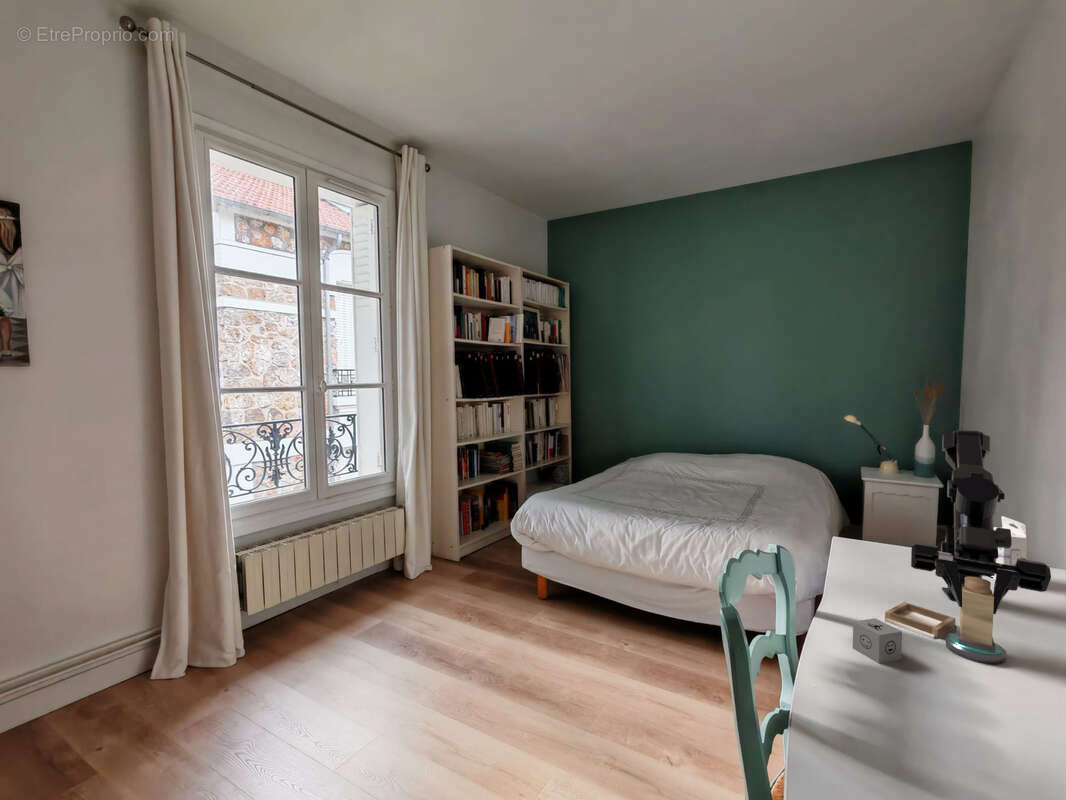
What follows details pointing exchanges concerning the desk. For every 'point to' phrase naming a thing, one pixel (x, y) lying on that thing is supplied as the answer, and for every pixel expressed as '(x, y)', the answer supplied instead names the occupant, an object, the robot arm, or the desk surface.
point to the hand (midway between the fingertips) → (977, 609)
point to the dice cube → (877, 640)
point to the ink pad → (976, 652)
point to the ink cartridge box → (1013, 543)
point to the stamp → (976, 615)
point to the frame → (920, 620)
